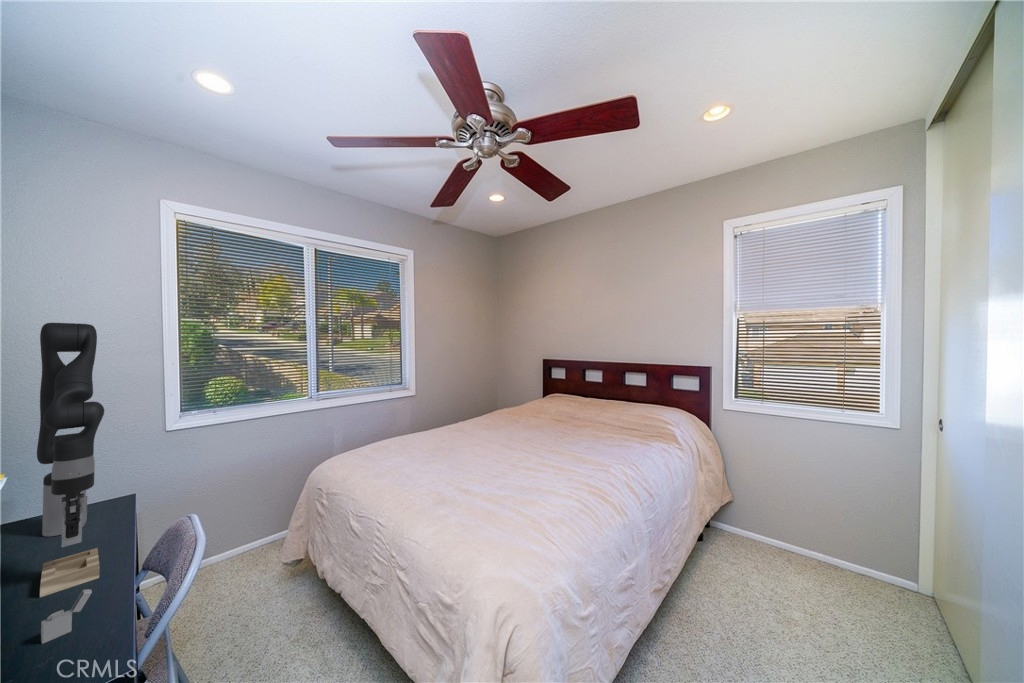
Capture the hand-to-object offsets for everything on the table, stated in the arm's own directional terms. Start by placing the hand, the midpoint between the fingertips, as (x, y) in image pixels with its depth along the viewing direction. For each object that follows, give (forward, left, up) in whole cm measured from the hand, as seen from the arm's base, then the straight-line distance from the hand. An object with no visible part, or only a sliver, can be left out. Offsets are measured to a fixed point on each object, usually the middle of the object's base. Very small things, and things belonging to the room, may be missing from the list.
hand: (72, 534), depth 98 cm
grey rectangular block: (0, 0, -2) cm, 2 cm away
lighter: (+23, +14, -13) cm, 30 cm away
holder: (-1, -1, -12) cm, 13 cm away
